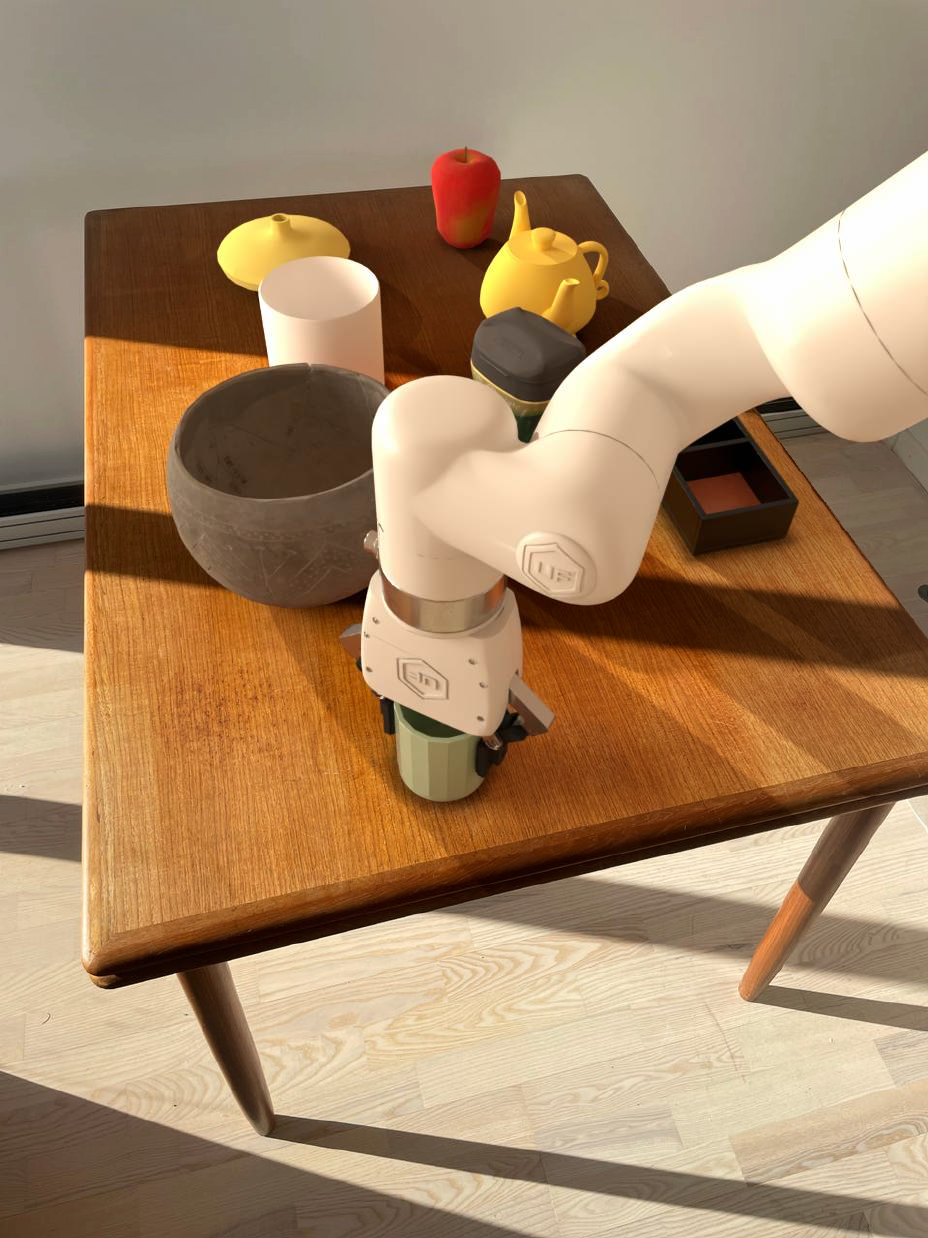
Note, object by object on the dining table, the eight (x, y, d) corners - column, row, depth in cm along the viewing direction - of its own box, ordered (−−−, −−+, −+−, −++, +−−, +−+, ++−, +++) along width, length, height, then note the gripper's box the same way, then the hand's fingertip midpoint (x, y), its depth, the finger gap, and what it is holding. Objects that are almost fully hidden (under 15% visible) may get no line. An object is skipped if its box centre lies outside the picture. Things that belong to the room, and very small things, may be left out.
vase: (351, 308, 113) (347, 251, 108) (215, 310, 112) (203, 254, 107) (352, 239, 123) (348, 184, 118) (227, 241, 122) (217, 186, 117)
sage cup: (503, 746, 74) (508, 685, 68) (462, 816, 70) (464, 757, 64) (425, 712, 76) (424, 649, 70) (381, 778, 72) (376, 717, 66)
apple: (511, 242, 124) (516, 148, 115) (461, 263, 120) (462, 168, 111) (467, 216, 128) (469, 123, 119) (417, 235, 124) (416, 141, 115)
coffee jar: (582, 509, 92) (608, 339, 77) (519, 546, 88) (534, 375, 74) (515, 456, 96) (528, 287, 82) (453, 489, 93) (455, 319, 79)
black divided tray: (785, 538, 90) (799, 501, 86) (692, 556, 88) (703, 519, 84) (703, 418, 101) (712, 381, 97) (619, 432, 99) (625, 395, 96)
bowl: (182, 500, 91) (146, 366, 80) (397, 466, 95) (392, 333, 84) (203, 671, 78) (163, 540, 67) (451, 623, 82) (453, 491, 71)
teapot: (635, 367, 107) (652, 271, 98) (506, 386, 104) (512, 289, 95) (575, 273, 119) (586, 180, 110) (459, 287, 116) (460, 194, 108)
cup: (299, 348, 108) (286, 247, 98) (399, 367, 106) (395, 266, 97) (256, 411, 100) (238, 308, 91) (362, 433, 98) (354, 329, 89)
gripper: (286, 565, 58) (315, 731, 71) (551, 675, 53) (528, 831, 66) (352, 490, 62) (368, 660, 76) (603, 585, 57) (572, 749, 71)
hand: (443, 739), depth 71 cm, fingers closed on sage cup, 6 cm apart
